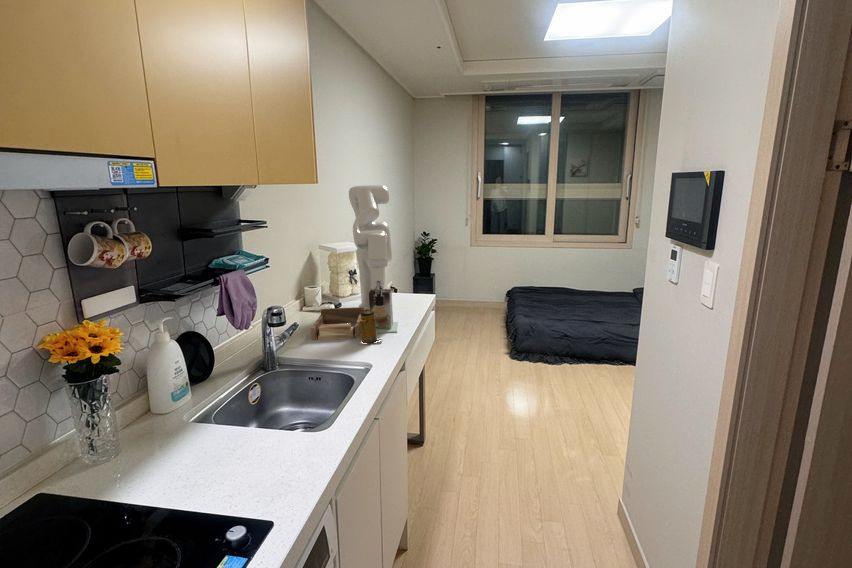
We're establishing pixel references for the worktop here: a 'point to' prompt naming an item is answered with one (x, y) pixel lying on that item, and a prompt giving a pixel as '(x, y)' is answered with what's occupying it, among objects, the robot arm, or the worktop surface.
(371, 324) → the condiment
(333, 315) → the rack
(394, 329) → the mat
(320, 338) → the offcut stack
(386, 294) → the coffee box
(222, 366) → the worktop surface
